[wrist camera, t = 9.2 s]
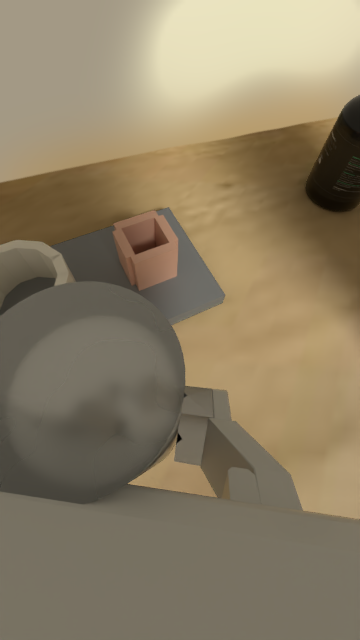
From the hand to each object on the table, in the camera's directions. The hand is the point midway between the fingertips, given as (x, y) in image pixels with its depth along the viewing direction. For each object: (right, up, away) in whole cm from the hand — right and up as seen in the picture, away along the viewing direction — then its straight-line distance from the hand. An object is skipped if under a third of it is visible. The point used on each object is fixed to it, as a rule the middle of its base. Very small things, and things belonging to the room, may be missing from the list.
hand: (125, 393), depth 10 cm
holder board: (-6, +5, +17) cm, 19 cm away
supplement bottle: (+20, +18, +24) cm, 37 cm away
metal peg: (0, -4, +6) cm, 7 cm away
